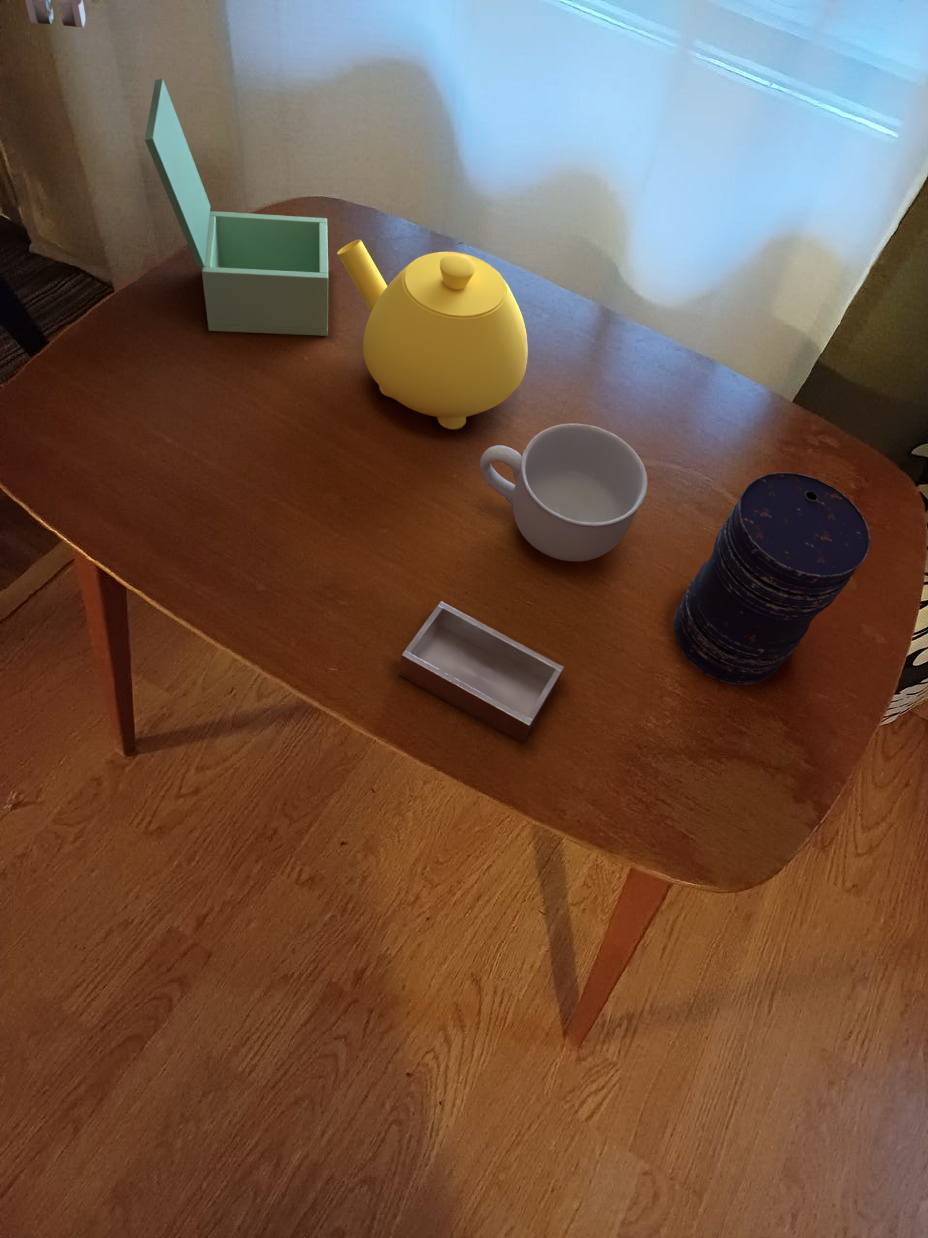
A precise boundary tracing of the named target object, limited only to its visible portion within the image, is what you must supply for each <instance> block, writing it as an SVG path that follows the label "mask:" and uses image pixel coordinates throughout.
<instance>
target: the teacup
mask: <svg viewBox="0 0 928 1238" xmlns="http://www.w3.org/2000/svg"><path fill="white" fill-rule="evenodd" d="M495 462H500V463H504V464H505V465H508V467H510V468H511V470H512V476H513V478H514V480H515V484H514V483H512V482H510V481H508V480H507V479H505V478H504V477H503V476H502V475H501V474H500V473H498V472H497V471H496V470H495V468H494V467H493V466H492V463H495ZM478 465H479V467H478V469H479V473H480V476H481V477H482V479H483V481H484V482H485V483H486V484H487V485H488V486H489V487H490V488H491V489H492V490H494V491H495V492H496V493H498V494H499V495H501V496H503V497H504V499H505V502H507V503H508V504H509V505H510V506H512V510H513V517H514V522H515V524H516V527H517V529H518V530H519V532H520V533H521V535H522V536H523V538H524V539H525V540H526V541H527V542H528V543H529V544H530V545H531V546H532V547H533V548H535V549H536V550H538V551H539V552H541V554H545V555H546V556H549V557H551V558H553V559H556V560H560V561H565V562H586V561H591V560H595V559H597V558H599V557H602V556H604V555H605V554H608V552H610V551H611V550H613V549H614V548H615V547H616V546H617V545H618V544H619V543H620V542H621V540H622V539H623V537H624V536H625V534H626V533H627V531H628V529H629V527H630V526H631V524H632V523H633V520H634V519H635V516H636V514H637V512H638V510H639V509H640V507H641V506H642V505H643V502H644V500H645V499H646V495H647V494H648V493H647V492H648V485H649V484H648V483H649V481H648V474H647V471H646V467H645V465H644V463H643V461H642V459H641V458H640V456H639V455H638V453H637V452H636V451H635V450H634V449H633V447H631V445H629V444H628V443H627V442H626V441H625V440H623V439H622V438H621V437H619V436H617V435H616V434H614V433H613V432H610V431H609V430H606V429H604V428H601V427H598V426H593V425H590V424H583V423H561V424H558V425H554V426H551V427H548V428H546V429H543V430H542V431H540V432H538V433H537V434H536V435H535V436H534V437H533V438H532V439H531V440H530V441H529V442H528V444H527V445H526V447H525V449H524V450H523V453H522V455H521V454H520V453H519V452H518V451H517V450H515V449H514V448H511V447H509V446H506V445H502V444H501V445H500V444H499V445H493V446H490V447H488V448H487V449H486V450H485V451H484V452H483V454H481V457H480V459H479V463H478Z"/></svg>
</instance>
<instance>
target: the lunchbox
mask: <svg viewBox="0 0 928 1238" xmlns="http://www.w3.org/2000/svg"><path fill="white" fill-rule="evenodd" d="M328 246H329V245H328V218H326V217H310V216H295V215H294V216H293V215H281V214H280V215H278V214H265V213H263V214H262V213H250V212H249V213H247V212H246V213H245V212H231V211H218V210H217V211H213V210H210V217H209V227H208V237H207V248H206V258H205V267H201V276H202V284H203V285H202V286H203V294H204V301H205V302H204V303H205V310H206V318H207V319H206V320H207V327H208V331H209V332H226V333H227V332H228V333H252V334H274V335H275V334H276V335H299V336H318V337H319V336H321V337H322V336H323V337H325V336H326V337H327V336H328V335H329V334H328V333H329V249H328V248H329V247H328Z"/></svg>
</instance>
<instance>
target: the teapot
mask: <svg viewBox="0 0 928 1238" xmlns="http://www.w3.org/2000/svg"><path fill="white" fill-rule="evenodd" d="M336 254H337V256H338V259H339V260H340V262H341V263H342V265H343V267H344V268H345V270H346V272H347V273H348V275H349V277H350V279H351V281H352V282H353V284H354V285H355V287H356V289H357V291H358V293H359V294H360V296H361V298H362V299H363V302H364V303H365V305H366V306H367V308H368V310H369V311H370V314H369V317H368V319H367V322H366V325H365V329H364V334H363V340H362V342H363V343H362V355H363V359H364V362H365V366H366V368H367V370H368V372H369V374H370V376H371V377H372V378H373V380H374V381H375V383H377V385H378V386H379V391H380V393H381V394H382V395H384V396H386V397H389V398H392V399H394V400H395V401H397V402H398V403H400V404H401V405H403V406H405V407H406V408H408V409H410V410H413V411H415V412H418V413H420V414H423V415H427V416H431V417H435V418H437V421H438V423H439V425H441V426H442V427H443V428H446V429H448V430H458V429H461V428H463V426H465V424H466V423H467V417H471V416H473V415H477V414H481V413H483V412H486V411H488V410H491V409H493V408H494V407H496V406H498V405H500V404H502V403H503V402H505V401H506V400H508V398H509V397H510V396H512V395H513V394H514V392H515V391H516V390H517V389H518V388H519V386H520V385H521V384H522V381H523V379H524V377H525V374H526V370H527V365H528V356H529V355H528V353H529V352H528V351H529V346H528V335H527V328H526V325H525V321H524V317H523V314H522V312H521V309H520V307H519V304H518V302H517V300H516V298H515V296H514V293H513V292H512V290H511V289H510V286H509V285H508V283H507V282H506V279H505V278H504V277H503V275H502V274H501V273H500V272H499V271H498V270H497V269H496V268H495V267H494V266H492V265H491V264H489V262H486V261H485V260H483V259H480V258H478V257H476V256H473V255H472V254H471V255H470V254H468V253H463V252H457V251H437V252H431V253H427V254H424V255H421V256H419V257H417V258H416V259H414V260H412V261H411V262H410V263H408V265H406V266H405V267H404V268H403V269H402V270H401V271H399V272H398V274H397V275H396V276H395V277H394V278H393V279H392V280H391V281H390V282H389V283H388V284H387V283H386V282H385V280H384V278H383V276H382V274H381V273H380V271H379V269H378V268H377V265H376V264H375V262H374V261H373V258H372V257H371V255H370V253H369V252H368V250H367V248H366V246H365V245H364V243H363V241H362V239H361V238H360V239H355V240H353V241H351V242H349V243H348V244H347V243H346V244H345V245H344V246H343V247H341V248H340V249H339V250H338V251H337V252H336Z"/></svg>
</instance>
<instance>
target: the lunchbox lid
mask: <svg viewBox="0 0 928 1238" xmlns="http://www.w3.org/2000/svg"><path fill="white" fill-rule="evenodd" d="M152 90H153V91H152V96H151V101H150V102H151V103H150V108H149V113H148V119H147V124H146V131H145V136H144V141H145V144H146V146H147V149H148V152H149V153H150V157H151V158H152V161H153V163H154V166H155V168H156V171H157V173H158V177H159V178H160V180H161V183H162V186H163V188H164V190H165V192H166V195H167V197H168V200H169V202H170V205H171V207H172V210H173V212H174V215H175V217H176V219H177V221H178V224H179V227H180V228H181V232H182V234H183V236H184V239H185V242H186V243H187V246H188V248H189V251H190V254H191V255H192V258H193V260H194V263H195V266H196V268H197V269H198V268H202V267H205V258H206V248H207V237H208V227H209V217H210V211H211V203H210V201H209V198H208V195H207V192H206V190H205V188H204V185H203V182H202V179H201V177H200V174H199V172H198V168H197V166H196V163H195V161H194V158H193V155H192V153H191V150H190V148H189V144H188V141H187V139H186V137H185V134H184V131H183V128H182V126H181V122H180V121H179V118H178V115H177V112H176V110H175V107H174V105H173V102H172V99H171V96H170V94H169V91H168V89H167V86H166V83H165V81H164V79H163V78H158V79H155V80H154V84H153V89H152Z"/></svg>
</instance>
